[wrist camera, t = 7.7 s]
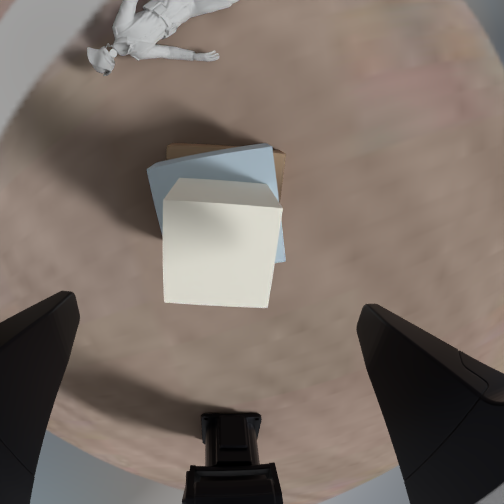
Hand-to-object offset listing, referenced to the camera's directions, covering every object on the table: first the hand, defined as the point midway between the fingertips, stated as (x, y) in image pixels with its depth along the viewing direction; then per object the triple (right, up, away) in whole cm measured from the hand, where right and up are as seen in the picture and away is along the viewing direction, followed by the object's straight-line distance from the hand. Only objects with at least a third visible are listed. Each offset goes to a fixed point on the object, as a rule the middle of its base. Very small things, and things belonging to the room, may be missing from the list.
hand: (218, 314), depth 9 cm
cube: (-1, +3, +7) cm, 8 cm away
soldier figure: (-3, +17, +6) cm, 19 cm away
